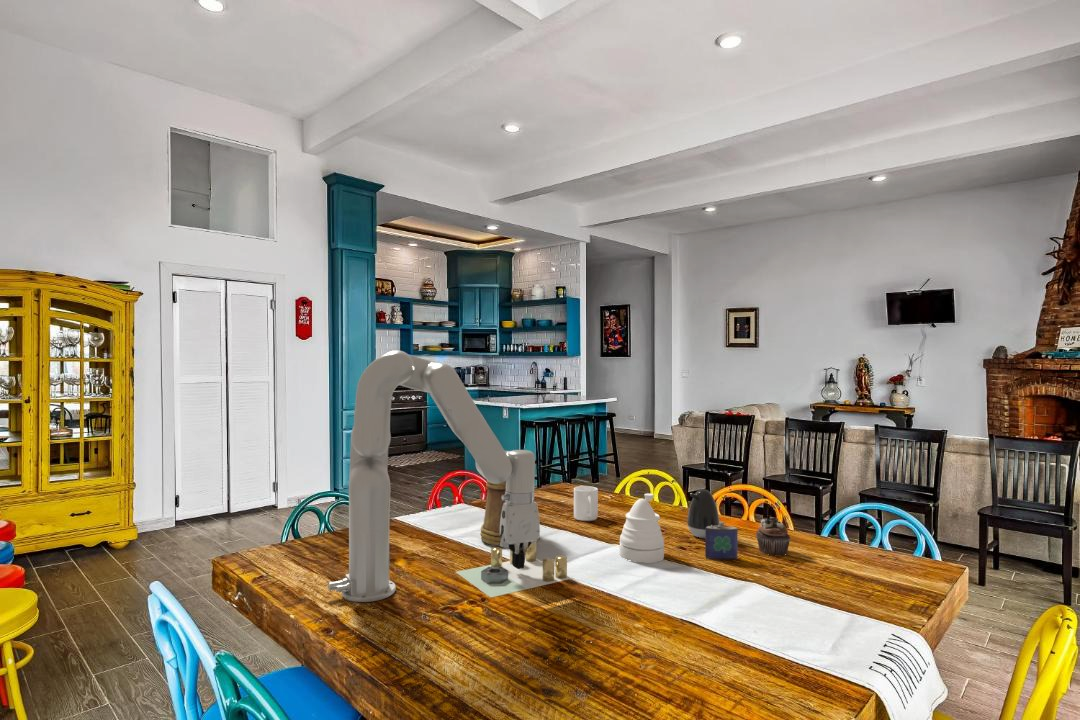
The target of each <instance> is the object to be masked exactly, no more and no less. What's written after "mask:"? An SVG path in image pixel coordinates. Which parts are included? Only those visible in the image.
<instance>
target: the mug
mask: <svg viewBox="0 0 1080 720" xmlns="http://www.w3.org/2000/svg"><path fill="white" fill-rule="evenodd" d="M598 499H599V489H598V487H595V486H591V485H590V486H589V485H579V486H575V487H573V518H574V519H575V520H577V521H582V522H591V521H595V520H597V519H598V516H599V512H598V511H599V509H598V508H599V506H598V505H599V501H598Z"/></svg>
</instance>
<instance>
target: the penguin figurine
mask: <svg viewBox="0 0 1080 720" xmlns="http://www.w3.org/2000/svg"><path fill="white" fill-rule="evenodd" d="M689 496H690V497H692V500H691V502H690V504H689V508H688V513H687V521H686V522H687V523H686V524H687V526H688V531H690V533H691V534H692V535H693V536H694V537H697V538H698V537H699V538H698V539H705V528H706V527H708V526H711V525H712V526H714V525H716V526H718V525H720V522H721V521H720V516H719V514H720V513H719V510H718V506H717V504H716V501H715V499H714V497H713V494H712V493H711V492H710V491H709V490H708V489H705V488H704V489H698V490H697V491H696V492H695V493H693V492H691V493H689ZM716 526H714V527H716Z"/></svg>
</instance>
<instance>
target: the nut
mask: <svg viewBox="0 0 1080 720" xmlns="http://www.w3.org/2000/svg"><path fill="white" fill-rule="evenodd" d="M481 580H482V581H484V582H485V583H487V584H502V583H503V582H505V581H506V580H508V570H506V569H505V568H503V567H487V568H486V569H484V570H482V571H481Z"/></svg>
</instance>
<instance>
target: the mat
mask: <svg viewBox="0 0 1080 720" xmlns="http://www.w3.org/2000/svg"><path fill="white" fill-rule="evenodd" d="M487 567H491V564H488V565H484V566H483V565H482V566H479V567H473V568H468V569H463V570H459V571H458V570H457V571H455V574H457V575H459V576H460V577H461V578H463V579H464V580H466V581H467V582H469V583H470V584H471V585H472V586H474V587H475V588H477V589H478V590H480V591H481V592H482V593H483V594H485V595H486V596H488V597H489V598H495V597H499V596H504V595H508V594H512V593H516V592H521V591H525V590H529V589H532V588H533V589H534V588H538V587H542V586H546V585H551V584H555V583H559V582H562V581H563V582H564V581H568V580H572V579H573V577H572V576H570V575H568V574H567V577H566V578H564V579H559V578H556V577H555V567H554V581H551V582H546V581H543V580H542V576H543V560H540V559H538V558H536V561H534V562H528V561H526V557H525V563H524V568H520V569H517V568H515V567H514V566H513V565H511V564H510V560H507V561H502V567H503V568H505V569H506V570H508V580H506V581H505V582H503V583H502V584H487V583H485V582H484V581H482V580H481V571H482V570H484V569H486V568H487Z"/></svg>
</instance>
